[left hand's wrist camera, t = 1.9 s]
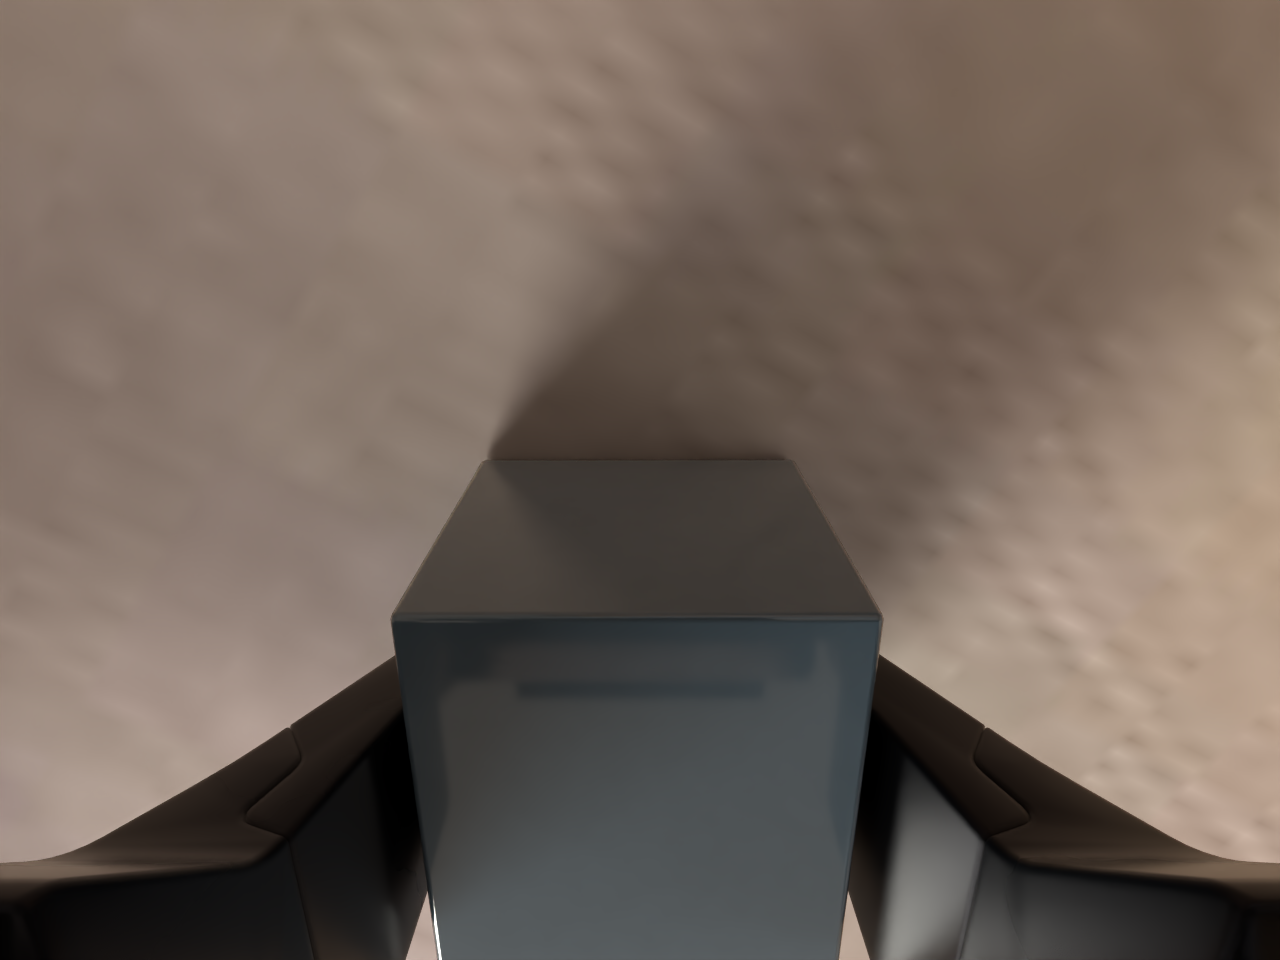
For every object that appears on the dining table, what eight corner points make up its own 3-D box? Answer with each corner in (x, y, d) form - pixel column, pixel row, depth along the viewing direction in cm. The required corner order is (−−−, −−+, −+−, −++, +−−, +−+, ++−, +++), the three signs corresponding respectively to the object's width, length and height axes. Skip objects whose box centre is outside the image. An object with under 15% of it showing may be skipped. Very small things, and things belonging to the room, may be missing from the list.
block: (774, 737, 13) (837, 994, 9) (503, 737, 13) (438, 994, 9) (795, 458, 11) (887, 615, 7) (481, 458, 11) (386, 615, 7)
